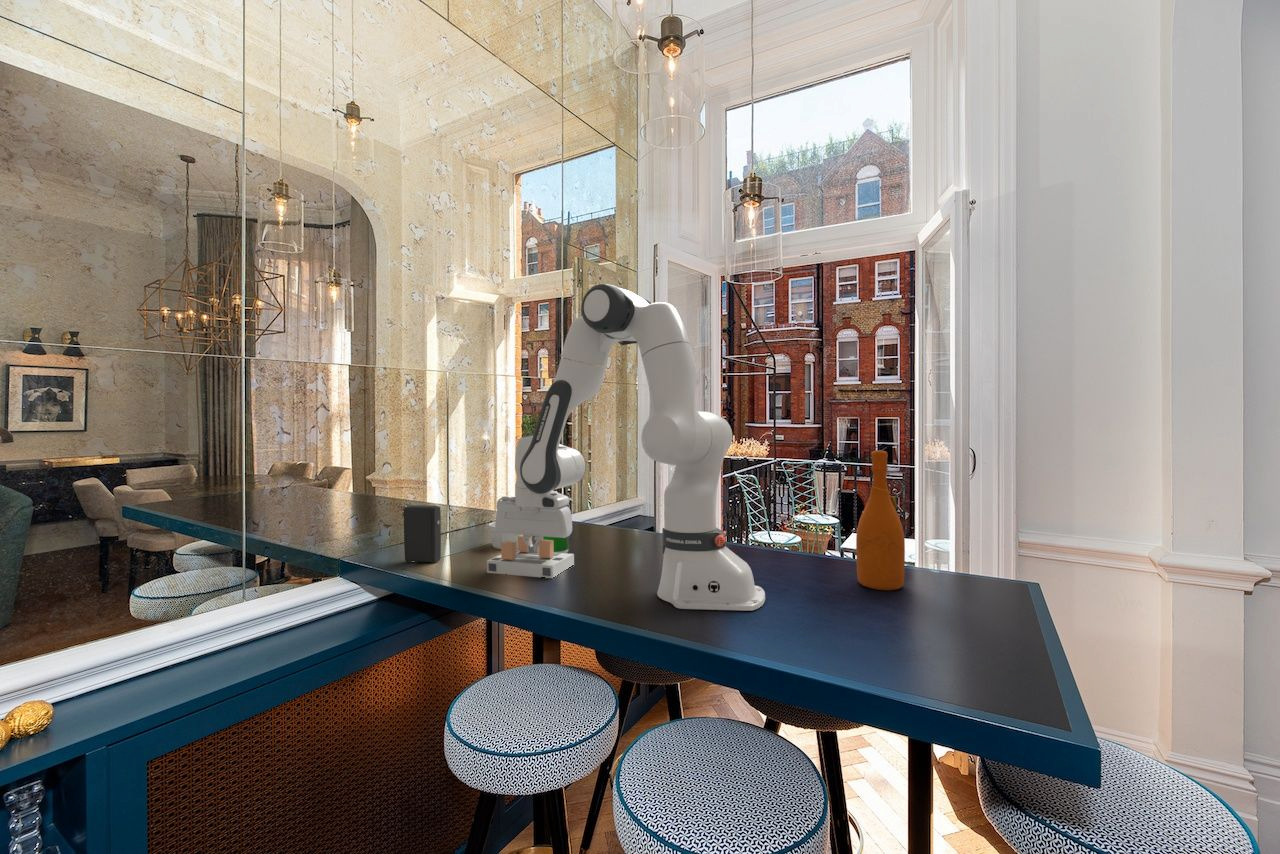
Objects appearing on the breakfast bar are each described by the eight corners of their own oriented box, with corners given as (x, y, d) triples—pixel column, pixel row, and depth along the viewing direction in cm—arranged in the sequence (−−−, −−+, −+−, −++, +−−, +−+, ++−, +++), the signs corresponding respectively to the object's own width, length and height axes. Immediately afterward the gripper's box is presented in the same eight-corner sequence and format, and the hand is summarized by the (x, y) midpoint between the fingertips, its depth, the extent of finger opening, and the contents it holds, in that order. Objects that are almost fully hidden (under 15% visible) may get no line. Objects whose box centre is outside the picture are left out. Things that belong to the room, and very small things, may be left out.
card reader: (443, 560, 147) (442, 504, 147) (435, 564, 143) (434, 507, 143) (411, 559, 148) (411, 504, 148) (403, 563, 144) (402, 506, 144)
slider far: (532, 550, 142) (531, 535, 142) (528, 552, 140) (528, 536, 140) (522, 549, 143) (521, 534, 143) (518, 551, 141) (517, 536, 141)
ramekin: (490, 542, 169) (490, 519, 169) (534, 540, 171) (533, 518, 171) (486, 552, 156) (486, 528, 156) (533, 549, 158) (533, 525, 158)
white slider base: (574, 565, 140) (574, 553, 140) (552, 578, 128) (552, 565, 128) (512, 560, 145) (512, 549, 145) (486, 573, 134) (486, 560, 134)
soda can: (571, 551, 155) (570, 509, 155) (564, 558, 147) (564, 514, 147) (545, 551, 156) (544, 509, 155) (537, 558, 148) (537, 514, 148)
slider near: (516, 557, 135) (516, 541, 135) (512, 559, 133) (511, 543, 133) (505, 557, 136) (505, 541, 136) (501, 559, 134) (501, 542, 134)
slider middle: (553, 556, 136) (553, 540, 136) (550, 558, 134) (549, 542, 134) (542, 555, 137) (542, 539, 137) (539, 557, 135) (538, 541, 135)
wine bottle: (908, 594, 114) (907, 451, 114) (857, 589, 117) (856, 451, 117) (901, 580, 123) (900, 449, 123) (855, 577, 127) (854, 449, 126)
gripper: (490, 497, 136) (490, 552, 137) (564, 501, 130) (564, 558, 130) (503, 494, 142) (503, 546, 143) (575, 497, 136) (575, 552, 136)
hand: (533, 552), depth 137 cm, fingers closed
